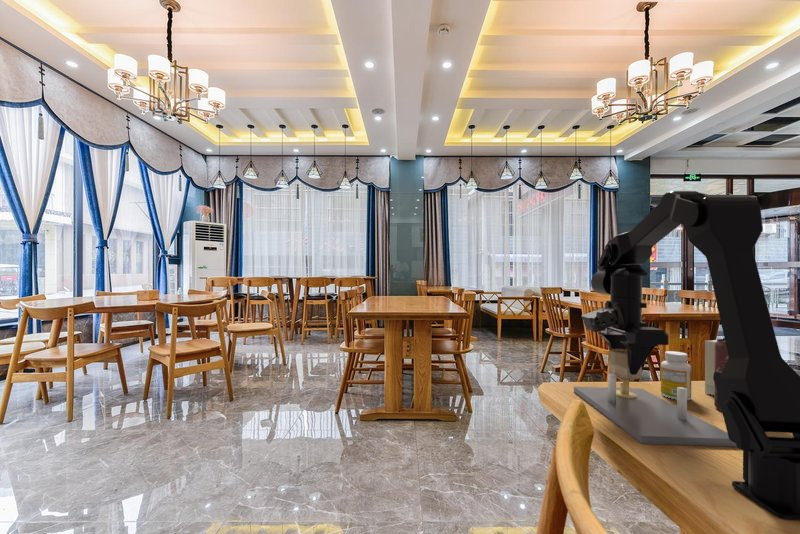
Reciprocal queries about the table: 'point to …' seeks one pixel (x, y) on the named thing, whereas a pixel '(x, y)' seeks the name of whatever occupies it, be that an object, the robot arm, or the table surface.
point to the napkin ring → (621, 364)
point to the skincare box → (709, 366)
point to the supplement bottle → (675, 374)
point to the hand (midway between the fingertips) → (625, 370)
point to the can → (720, 364)
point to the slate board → (652, 415)
